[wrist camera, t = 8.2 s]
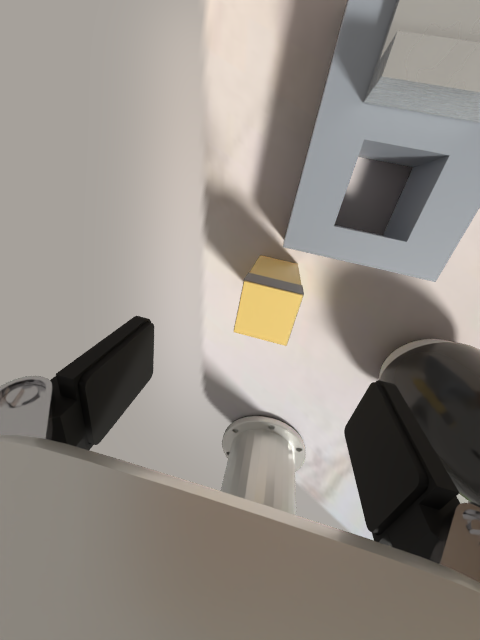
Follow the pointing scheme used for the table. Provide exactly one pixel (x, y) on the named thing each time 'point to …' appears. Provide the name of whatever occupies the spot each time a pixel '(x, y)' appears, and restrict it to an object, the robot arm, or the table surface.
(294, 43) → the table surface
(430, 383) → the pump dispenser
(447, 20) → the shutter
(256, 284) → the plug
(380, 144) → the socket board
